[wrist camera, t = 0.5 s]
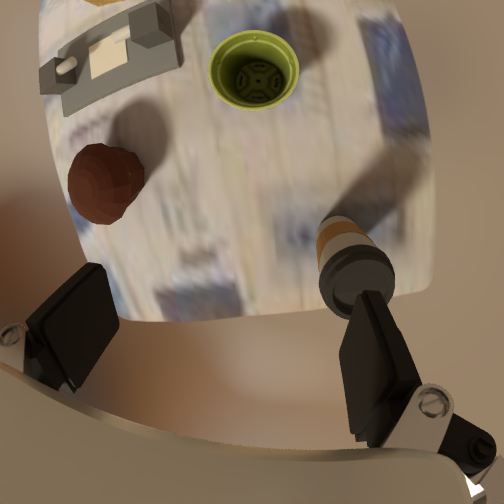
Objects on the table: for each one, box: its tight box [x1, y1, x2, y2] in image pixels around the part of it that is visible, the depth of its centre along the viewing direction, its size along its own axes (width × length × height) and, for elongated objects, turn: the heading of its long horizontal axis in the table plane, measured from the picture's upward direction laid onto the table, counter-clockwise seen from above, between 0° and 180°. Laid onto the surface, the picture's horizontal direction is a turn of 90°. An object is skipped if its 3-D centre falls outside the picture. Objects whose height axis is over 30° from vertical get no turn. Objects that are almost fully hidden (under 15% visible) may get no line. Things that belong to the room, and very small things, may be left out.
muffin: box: [68, 143, 144, 225], centre depth 34 cm, size 12×11×10 cm
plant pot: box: [208, 30, 299, 111], centre depth 27 cm, size 9×9×9 cm
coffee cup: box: [316, 216, 395, 320], centre depth 32 cm, size 8×8×15 cm
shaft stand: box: [39, 0, 180, 117], centre depth 27 cm, size 14×22×6 cm, turn 100°
